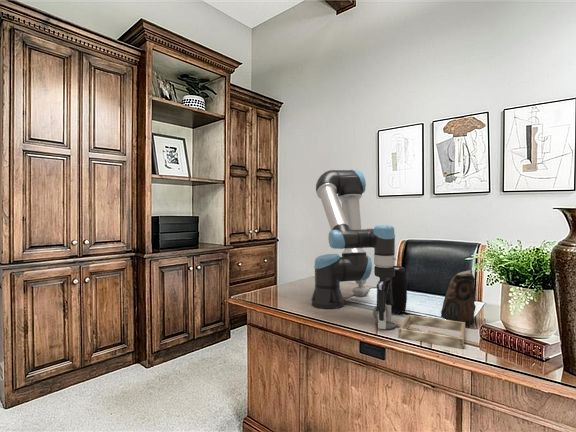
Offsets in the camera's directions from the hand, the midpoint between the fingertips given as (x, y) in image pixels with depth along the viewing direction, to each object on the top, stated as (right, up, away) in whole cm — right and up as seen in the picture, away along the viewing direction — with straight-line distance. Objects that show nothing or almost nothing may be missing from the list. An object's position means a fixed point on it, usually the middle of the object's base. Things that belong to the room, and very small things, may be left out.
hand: (384, 324), depth 129 cm
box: (+15, 0, -9) cm, 17 cm away
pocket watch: (0, 0, 0) cm, 1 cm away
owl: (+31, 0, +5) cm, 31 cm away
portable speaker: (+10, 0, +17) cm, 20 cm away
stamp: (+1, 0, +46) cm, 46 cm away
